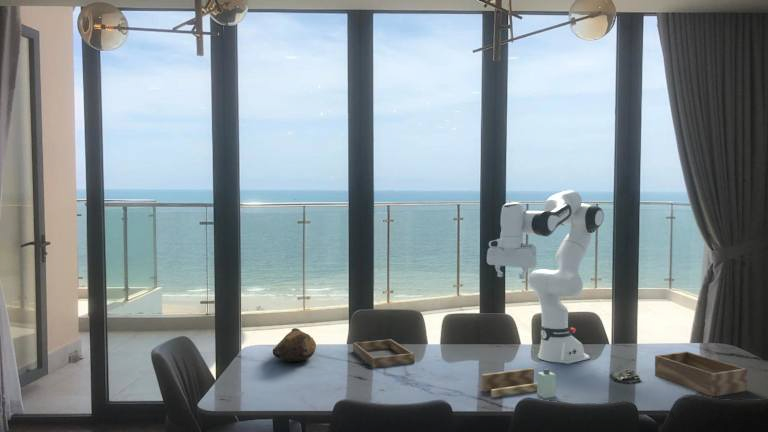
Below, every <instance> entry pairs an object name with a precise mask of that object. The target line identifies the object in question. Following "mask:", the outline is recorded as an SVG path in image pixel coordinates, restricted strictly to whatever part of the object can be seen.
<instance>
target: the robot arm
mask: <svg viewBox="0 0 768 432" xmlns="http://www.w3.org/2000/svg"><path fill="white" fill-rule="evenodd" d="M582 202H583V199H582V196H581V194H580V193H578V191H575V190H564V191H560V192H558V193H555V194H553V195H551V196H549V198H547V200H546V201H545V203H544V210H527V209H525V208H524V206H523V204H522V203H521V202H520V201H519V202H518V201H516V202H514V201H513V202H507V203H504V204H503V205H502V206H501V212H500V228H501V229H500V231H501V232H500V233H499V234H500V235H499V236H500V237H499V238H497V239H494V240H490V241H489V242H488V246H489V248H488V249H487V252H486V253H487V254H486V263H487V264H488V265H490V266H494V269H495V271H496V272H497V277H499V278H502V277H503V276H504V273H503V271H501V269H500V268H501V267H512V268H521V273H520V274H519V277H518V278H519V280H524V279H525V278H526V277H525V275H526V273H527V272H528V269H534V270H533V271H532V272H531V273H530V275H529V278H528V284H529V287H530V288H531V290H533V292H534V293H535V294H536V296H537V299H538V301H539V304H540V309H541V325H540V338H541V339H540V346H539V351H538V354H537V358H538V359H540V360H542V361H545V362H550V363H559V364H573V363H577V362H581V361H582V362H583V361H585V360H590V356H589V354H587V353H585V351H584V346H583V344H582V342H581V341H579V340H578V339H577V338H576V337H575V336H573V335H572V333H573V334H575V333H576V331H577V329H576V328H575V327H569V311H568V307H567V306H565V305H564V304H563V303H562V301H561V299H560V297H563V298H574V297H575V298H576V297H579V295H581V293H582V291H583V289H584V283H583V280H582V277H580V275H579V268H580V265H581V263H582V261H583V258H584V256H585V255H586V252H587V250H588V249H589V245H590V242H591V238H592V233H595V232H596V231H597V230H598V229H599V228H600V227H601V225H602V224H603V222H604V215H605V214H604V211H603V209H602V208H601V207H599V206H598V205H594V204H592V205H591V204H588V203H582ZM560 225H561V226H567V227H570V230H569V231H568V233H567V234H566V235H565V236H564V238H563V239H562V242H561V244H560V246H558V247H559V248H558V249H557V250H556V253H555V256H554V257H555V261H556V263H557V265H558V268H557V269H556V270H555V269H554V270H553V269H546V268H542V269H535V268H536V267H537V256H536V255H537V247H536V246H535V245H534V244H531V243H528V244H527V243H524V235H528V236H529V235H530V236H539V237H540V236H541V237H549V236H550V235H552V234H553V233H554V231H555V230H556V229H557V228H558V227H560Z"/></svg>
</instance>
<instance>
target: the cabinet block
mask: <svg viewBox="0 0 768 432" xmlns="http://www.w3.org/2000/svg"><path fill="white" fill-rule="evenodd" d="M536 375H537V376H536V383H537V391H536V394H537V396H538V397H541V398H543V399H546V398H553V397H556V395H557V394H556V393H557V391H556V388H557V386H556V385H557V379H556V378H557V375H556V373H554V372H551V371H550V368H544V369H543V371H539V372H537V373H536Z"/></svg>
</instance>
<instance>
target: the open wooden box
mask: <svg viewBox="0 0 768 432" xmlns="http://www.w3.org/2000/svg"><path fill="white" fill-rule="evenodd" d="M654 376H655V377H658V378H660V379H664V380H666V381H668V382H671V383H674V384H677V385H680V386H683V387H685V388H689V389H691V390H693V391H697V392H700V393H702V394H705V395H707V396H709V397H721V396H725V395H729V394H730V395H731V394H736V393H742V392H747V391H748V368H745V367H742V366H738V365H734V364H731V363H727V362H724V361H722V360H717V359H714V358H711V357H708V356H705V355H699V354H697V353H693V352H690V351H681V352H672V353H667V354H666V353H665V354H659V355H658V354H657V355H655V356H654Z"/></svg>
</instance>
